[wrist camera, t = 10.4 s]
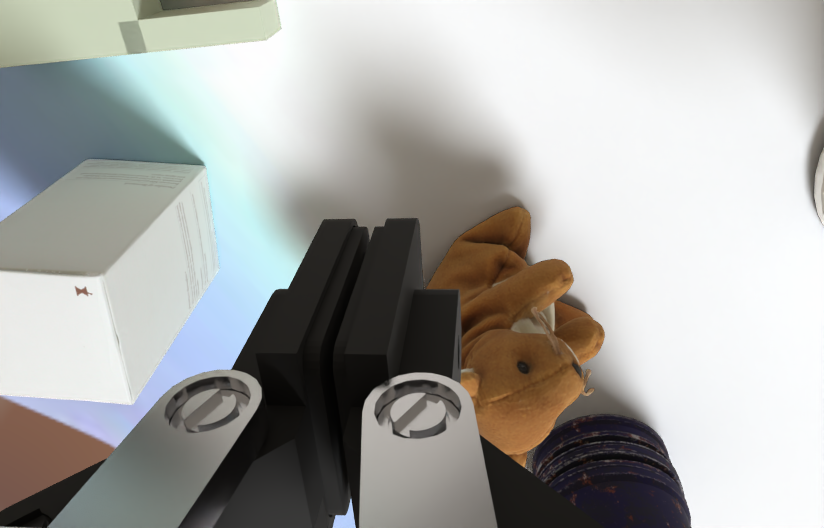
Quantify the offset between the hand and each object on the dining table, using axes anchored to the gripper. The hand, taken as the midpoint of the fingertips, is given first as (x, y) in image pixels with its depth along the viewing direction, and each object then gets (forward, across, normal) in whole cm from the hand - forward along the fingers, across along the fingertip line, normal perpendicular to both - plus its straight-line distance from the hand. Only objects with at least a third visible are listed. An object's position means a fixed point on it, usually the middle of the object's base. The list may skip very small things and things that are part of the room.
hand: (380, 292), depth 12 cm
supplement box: (+25, +18, +10) cm, 32 cm away
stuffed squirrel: (+25, -1, +16) cm, 30 cm away
